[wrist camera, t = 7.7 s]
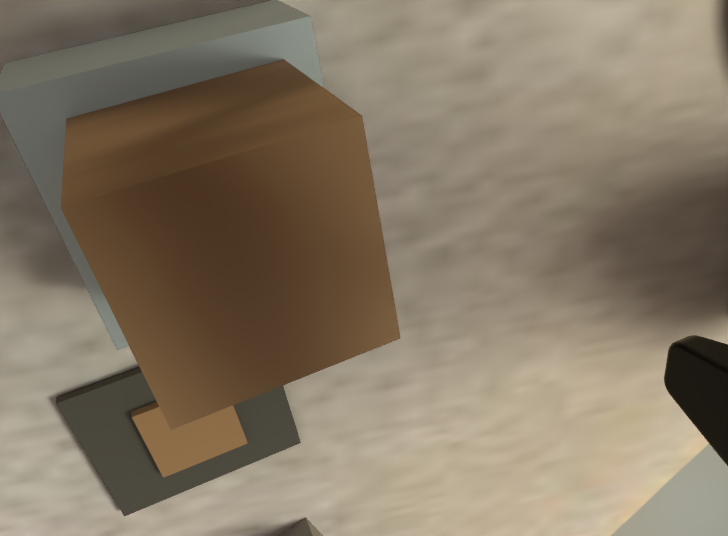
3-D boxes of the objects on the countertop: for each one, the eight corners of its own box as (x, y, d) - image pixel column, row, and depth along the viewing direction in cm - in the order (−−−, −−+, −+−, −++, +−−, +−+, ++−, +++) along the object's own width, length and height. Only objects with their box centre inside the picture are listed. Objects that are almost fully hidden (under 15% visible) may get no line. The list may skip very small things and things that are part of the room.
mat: (262, 322, 22) (266, 332, 21) (298, 437, 25) (302, 448, 24) (56, 397, 20) (55, 409, 20) (123, 509, 23) (124, 522, 23)
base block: (272, -2, 17) (310, 16, 14) (320, 217, 21) (357, 265, 18) (6, 60, 15) (-10, 94, 13) (111, 285, 19) (117, 349, 17)
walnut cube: (283, 59, 15) (362, 115, 11) (326, 239, 17) (400, 338, 13) (65, 118, 13) (61, 207, 9) (148, 300, 16) (170, 430, 12)
